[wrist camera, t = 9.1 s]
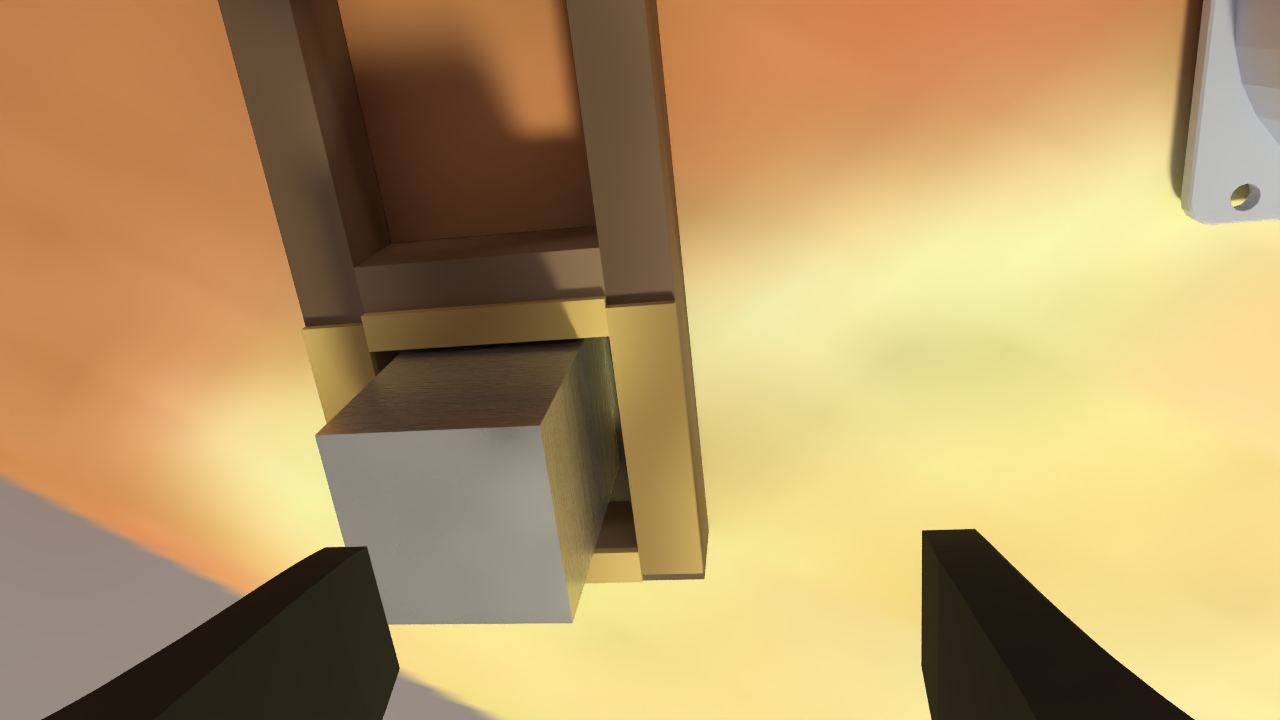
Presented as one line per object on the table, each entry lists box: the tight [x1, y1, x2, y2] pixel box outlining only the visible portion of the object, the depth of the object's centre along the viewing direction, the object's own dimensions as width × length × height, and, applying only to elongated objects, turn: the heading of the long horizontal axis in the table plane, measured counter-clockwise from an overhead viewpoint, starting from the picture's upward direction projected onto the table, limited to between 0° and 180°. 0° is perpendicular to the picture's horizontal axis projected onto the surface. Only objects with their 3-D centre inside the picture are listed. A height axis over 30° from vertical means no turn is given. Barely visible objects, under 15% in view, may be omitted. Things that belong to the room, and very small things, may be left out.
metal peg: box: [315, 337, 620, 624], centre depth 18 cm, size 4×4×6 cm
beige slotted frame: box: [218, 0, 709, 583], centre depth 17 cm, size 8×21×2 cm, turn 7°
